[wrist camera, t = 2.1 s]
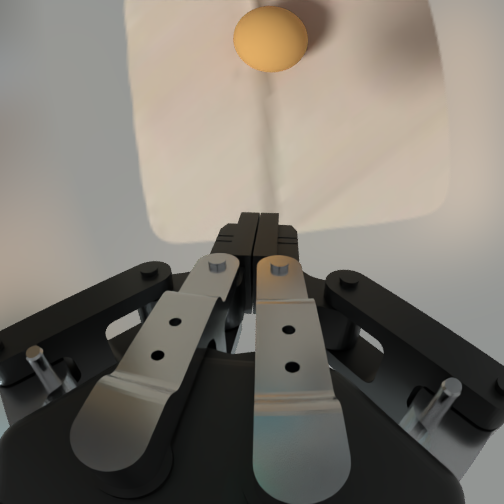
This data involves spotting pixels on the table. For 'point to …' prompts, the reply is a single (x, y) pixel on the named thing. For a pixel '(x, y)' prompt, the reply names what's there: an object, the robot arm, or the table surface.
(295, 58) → the ball
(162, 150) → the table surface
